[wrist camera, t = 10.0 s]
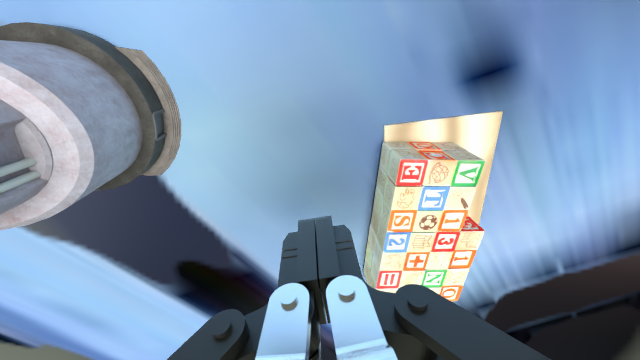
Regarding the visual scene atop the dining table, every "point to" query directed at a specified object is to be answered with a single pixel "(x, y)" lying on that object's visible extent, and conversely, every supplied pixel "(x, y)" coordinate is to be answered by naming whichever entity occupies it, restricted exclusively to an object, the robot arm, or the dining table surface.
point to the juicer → (76, 119)
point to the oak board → (456, 142)
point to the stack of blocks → (423, 218)
